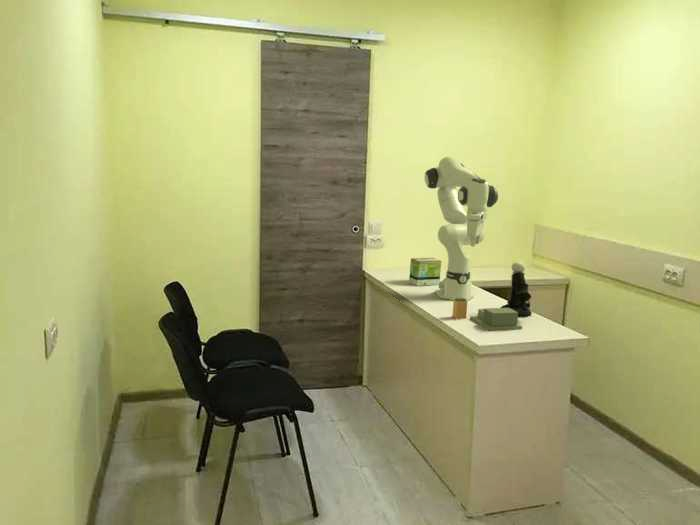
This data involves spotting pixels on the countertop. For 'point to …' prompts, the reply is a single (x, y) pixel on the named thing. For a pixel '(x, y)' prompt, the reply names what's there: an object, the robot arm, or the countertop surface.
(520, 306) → the sculpture
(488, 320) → the green plate with frame
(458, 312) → the yellow box green face
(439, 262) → the tea box
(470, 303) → the countertop surface
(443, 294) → the robot arm
